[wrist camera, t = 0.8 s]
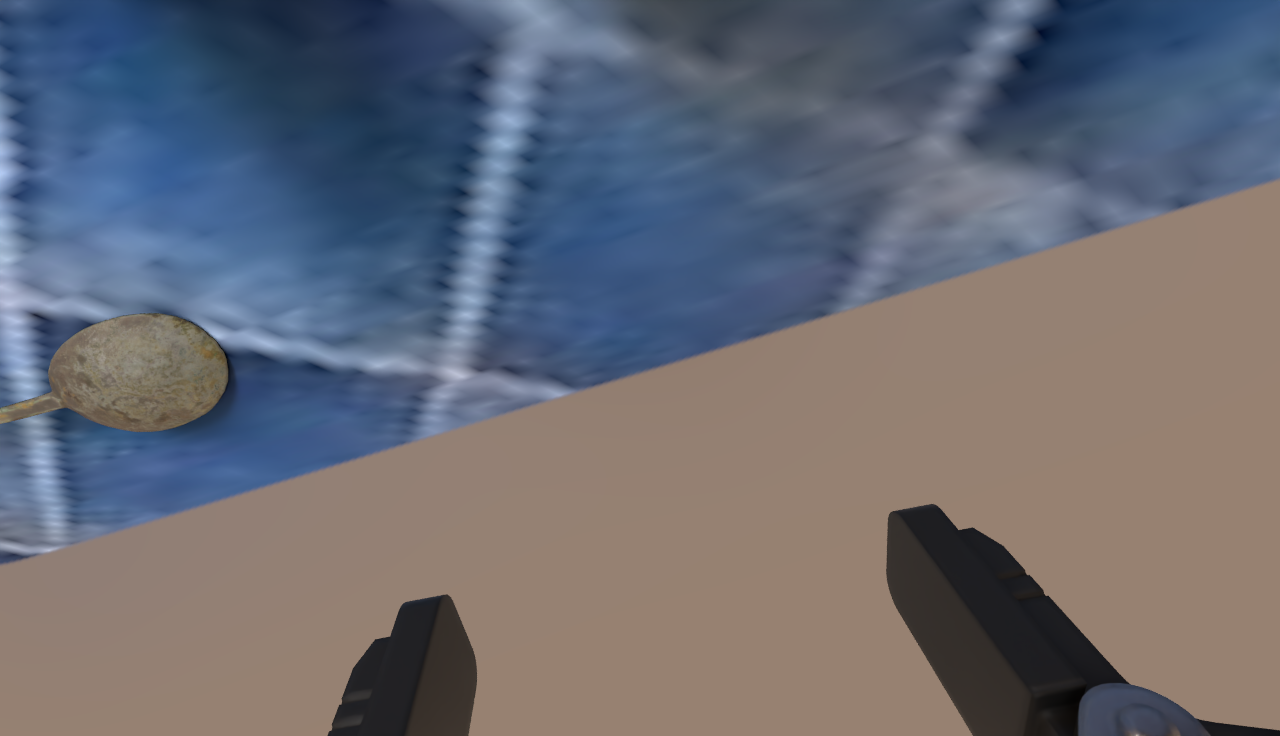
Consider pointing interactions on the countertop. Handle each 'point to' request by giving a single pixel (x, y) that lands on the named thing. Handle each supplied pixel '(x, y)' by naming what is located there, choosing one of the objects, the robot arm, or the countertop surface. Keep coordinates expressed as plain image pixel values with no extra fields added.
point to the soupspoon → (133, 374)
